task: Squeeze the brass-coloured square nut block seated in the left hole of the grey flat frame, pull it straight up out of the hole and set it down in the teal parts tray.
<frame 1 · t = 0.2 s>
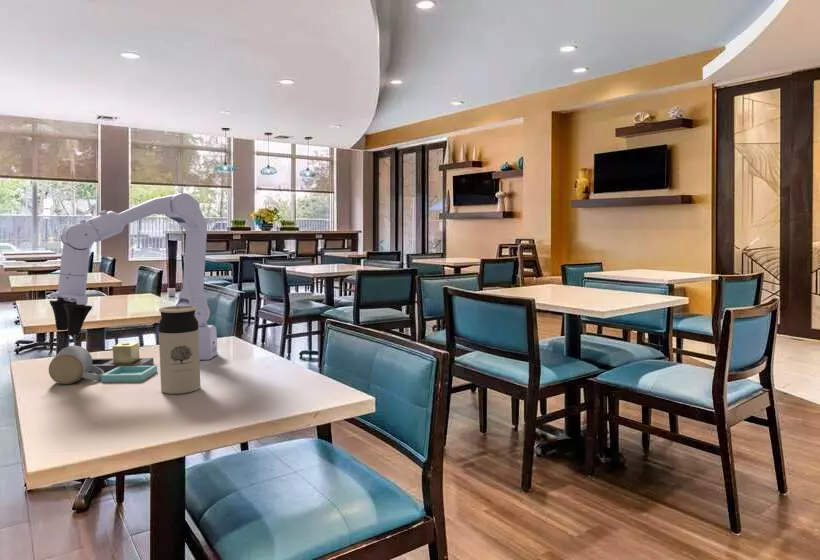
hand: (67, 332, 137), 11 cm above the table, tool pointing down, fingers open, 7 cm apart
parts tray: (130, 376, 137), on the table
grey flat frame: (110, 367, 146), on the table
travel mug: (181, 390, 126), on the table
ceramic mug: (77, 381, 134), on the table
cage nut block: (127, 367, 146), resting in grey flat frame
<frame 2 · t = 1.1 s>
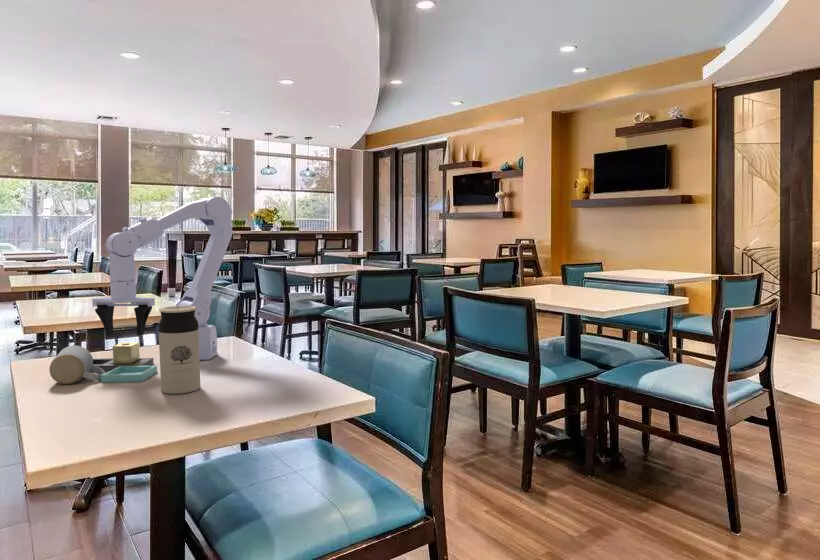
hand: (125, 334, 146), 8 cm above the table, tool pointing down, fingers open, 7 cm apart
nothing on the table moved.
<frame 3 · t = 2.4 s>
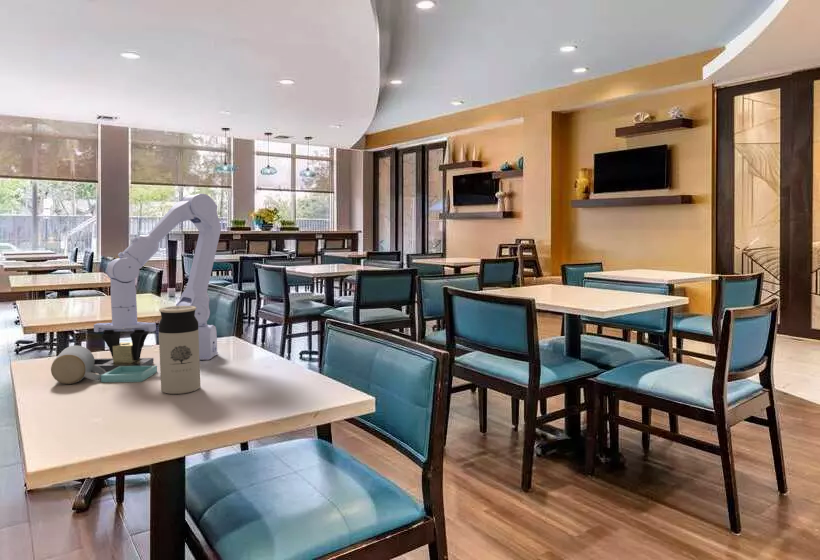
hand: (126, 359, 146), 2 cm above the table, tool pointing down, fingers closed on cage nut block, 4 cm apart
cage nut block: (127, 367, 146), resting in grey flat frame, touching gripper
everything else where it was.
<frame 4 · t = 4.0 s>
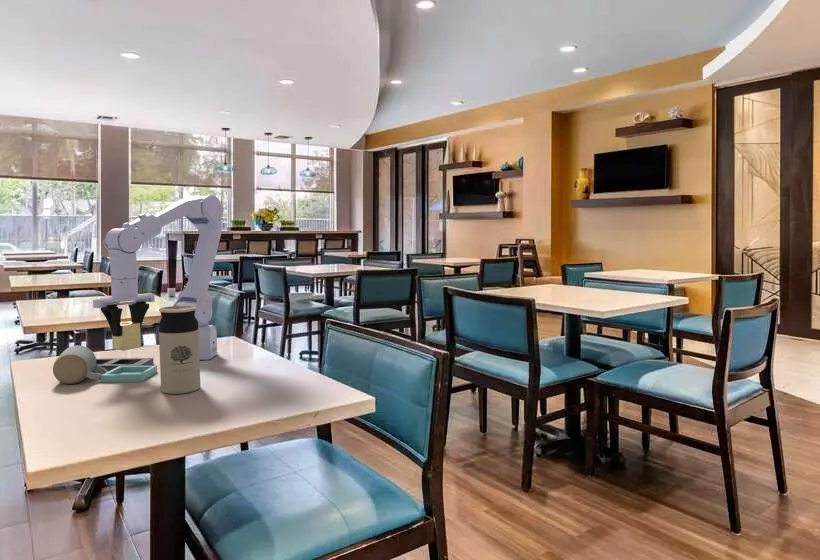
hand: (126, 334, 140), 9 cm above the table, tool pointing down, fingers closed on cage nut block, 4 cm apart
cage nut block: (126, 347, 141), point 6 cm above the table, touching gripper
everything else where it was.
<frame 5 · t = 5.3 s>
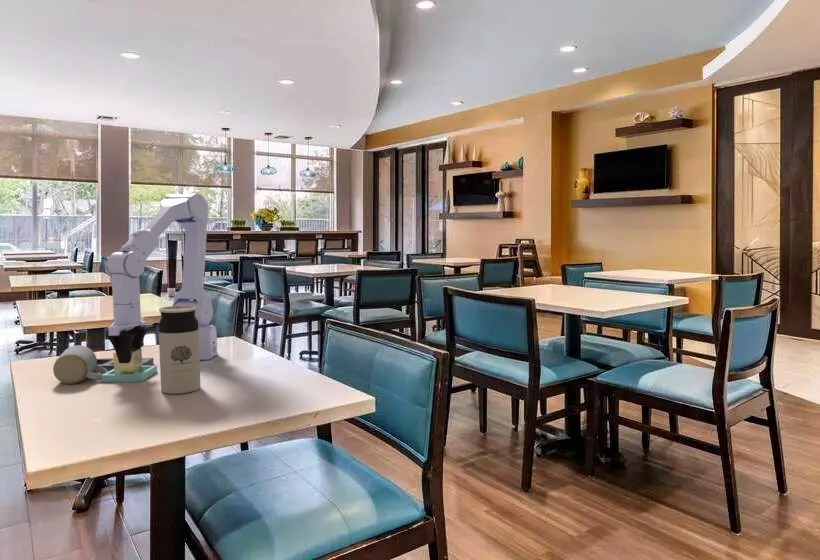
hand: (129, 360, 137), 4 cm above the table, tool pointing down, fingers closed on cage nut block, 4 cm apart
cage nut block: (128, 375, 137), resting on parts tray, touching gripper
everything else where it was.
when the fingers open (4 cm above the table, at t = 5.9 s): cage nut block stays where it is, resting on parts tray.
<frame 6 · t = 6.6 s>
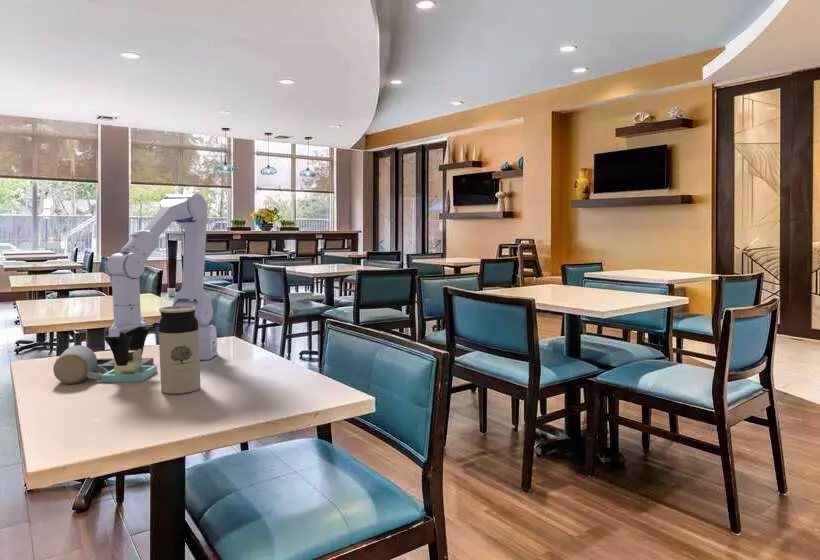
hand: (129, 361, 137), 4 cm above the table, tool pointing down, fingers open, 7 cm apart
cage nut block: (128, 375, 137), resting on parts tray
everything else where it was.
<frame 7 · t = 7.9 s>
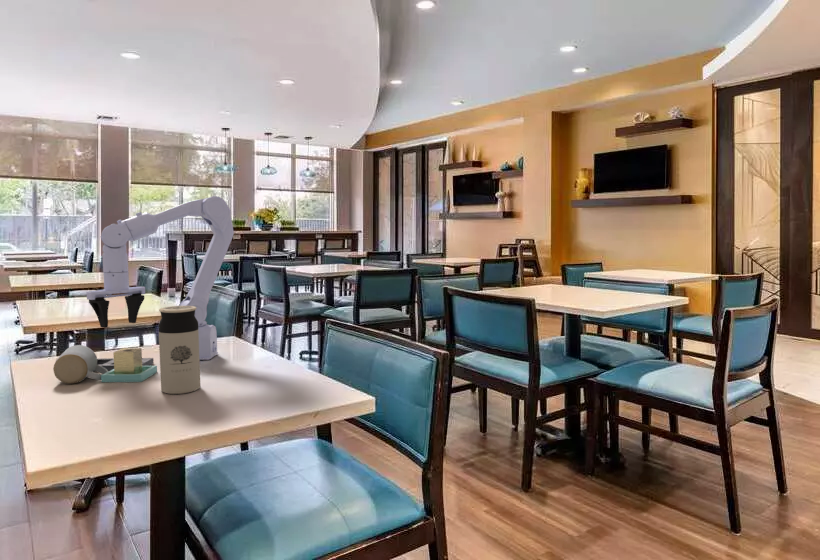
hand: (118, 324, 148), 10 cm above the table, tool pointing down, fingers open, 7 cm apart
nothing on the table moved.
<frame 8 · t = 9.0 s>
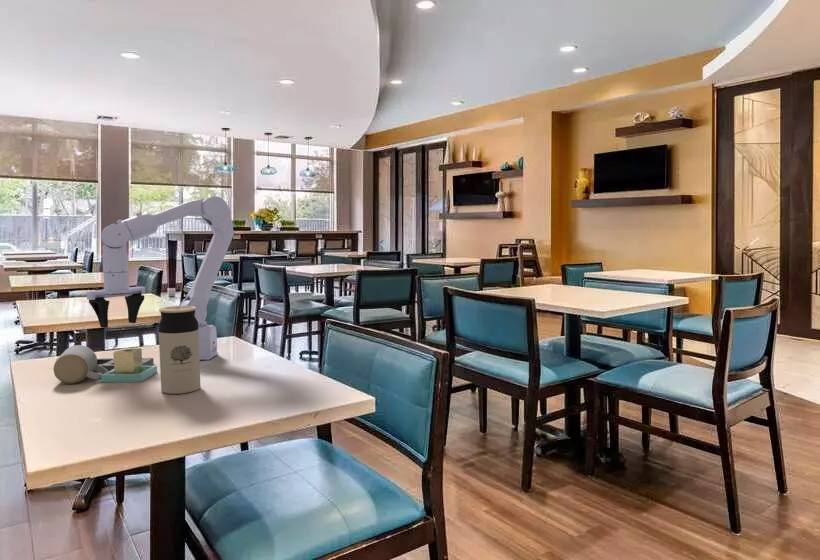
hand: (118, 324, 148), 10 cm above the table, tool pointing down, fingers open, 7 cm apart
nothing on the table moved.
at the end: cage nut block inside the target area on the parts tray (0.3 cm from its centre), point 0.4 cm above the parts tray's base; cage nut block moved 10.6 cm from its start; the gripper is holding nothing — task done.
